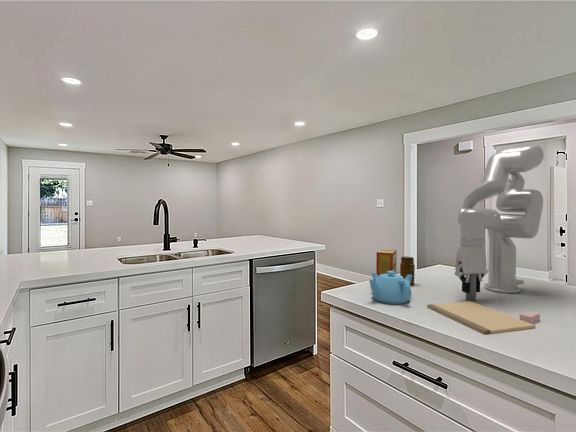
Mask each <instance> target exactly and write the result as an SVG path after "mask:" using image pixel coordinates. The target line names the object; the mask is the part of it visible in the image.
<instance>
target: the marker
mask: <svg viewBox="0 0 576 432" xmlns="http://www.w3.org/2000/svg"><path fill="white" fill-rule="evenodd" d="M476 275H477V274H470V276H469V283H470V293H465V301H472V302H474V303H476V302H477V292H476Z"/></svg>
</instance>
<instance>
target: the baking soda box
mask: <svg viewBox="0 0 576 432" xmlns="http://www.w3.org/2000/svg"><path fill="white" fill-rule="evenodd" d="M375 268H376V272H375V273H377V275H378V276H380V275H381V274H388V273H387V271H394V272H395V274H397V250H396V249H384V248H382V249H379V250H378V251H376V267H375Z"/></svg>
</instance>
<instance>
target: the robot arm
mask: <svg viewBox="0 0 576 432" xmlns="http://www.w3.org/2000/svg"><path fill="white" fill-rule="evenodd" d="M544 155H545V154H544V150H543V148H542V147H541V146H540V145H536V144H534V145H526V146H525V145H524V146H517V147H516V146H515V147H510V148H503V149H501V150H497V151H496V152H495V153H494V154H492V155H491V156H490V157H489V158H488V160H487V163H486V167H485V169H484V173H483V175H482V179H481V183H480V184H479V185H478V186H476V187H475V188H474V189H472V190H471V191H470V192H469V193H468V194H467V195H466V196H465V197H464V198H463V200H462V201H461V204H460V206H459V207H460V208H459V211H458V213H457V221H458V224H459V225H460V246H458V247H457V250H456V251H457V252H456V256H455V268H454V269H455V272H454V276H456V277H458V278H459V280H460V282H461V291H462V293H465V294H466V293H470V283H469V276H470V274H477V275H476V293H480V292H481V282H483V278H484V277H485V276H486V275H487V274H488V279H487V281H488V283H484V284H483V288H484V289H485V290H488V291H492V292H494V293H495V292H496V293H503V294H504V293H505V294H518V293H520V292H521V289H520V287H518V286H519V285H524V284H525V280H523V279H517V277H516V276H517V274H516V273H517V246H516V244H515V243H514V241H513V240H512V238H514V239H515V238H516V239H533V238H535V237H536V236H537V235H538V232H539V228H540V223H541V218H542V212H543V208H544V196H543V194H542V192H541V191H540V190H538V189H531V188H529V189H524V188H525V182H526V181H525V178H524V177H523V175H522V174H521V173H527V172H529V171H531V170H533V169H535V168H537V167H538V166H540V165H541V163H543V160H544ZM495 196H497V197H496V202H495V208H496V209H497V210H496V209H493V208H492V209H491V208H475V206H477V205H478V204H479V203H481V202H483V201H486V200H487V199H490V198H493V197H495ZM498 211H499V212H502V213H499V212H498ZM486 229H487V234H488V270H487V254H486V249H485V246H484V245H485V242H486V241H485V239H484V238H485V237H484V236H485V230H486Z"/></svg>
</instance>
